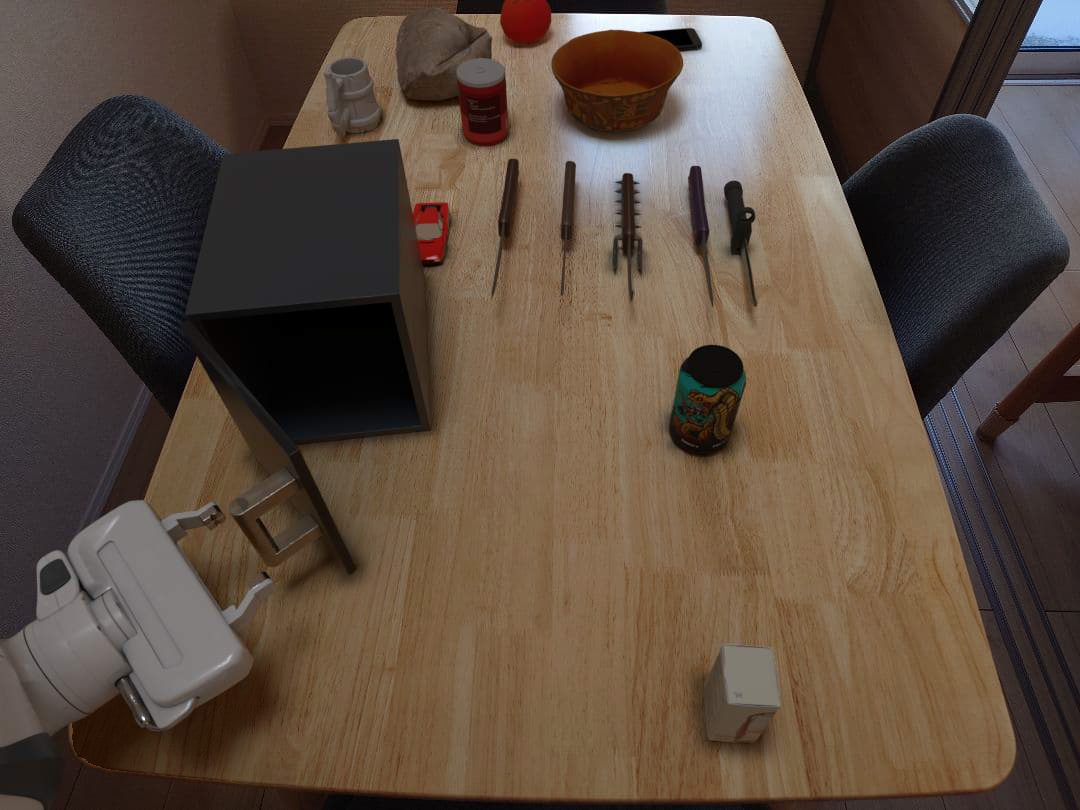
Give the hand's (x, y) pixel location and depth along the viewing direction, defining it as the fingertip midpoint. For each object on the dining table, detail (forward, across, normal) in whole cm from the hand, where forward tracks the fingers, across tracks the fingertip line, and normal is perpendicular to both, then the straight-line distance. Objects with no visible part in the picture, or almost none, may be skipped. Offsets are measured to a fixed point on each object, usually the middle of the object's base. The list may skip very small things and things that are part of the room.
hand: (245, 543), depth 68 cm
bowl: (+86, +38, +11) cm, 95 cm away
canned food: (+67, +49, +11) cm, 84 cm away
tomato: (+93, +69, +11) cm, 117 cm away
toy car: (+44, +34, +11) cm, 57 cm away
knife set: (+62, +13, +11) cm, 65 cm away
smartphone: (+110, +50, +11) cm, 122 cm away
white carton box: (+24, -38, +11) cm, 46 cm away
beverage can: (+46, -15, +11) cm, 50 cm away
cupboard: (+23, +23, +11) cm, 34 cm away
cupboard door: (+4, +7, +11) cm, 14 cm away
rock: (+72, +66, +11) cm, 98 cm away
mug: (+52, +66, +11) cm, 85 cm away
